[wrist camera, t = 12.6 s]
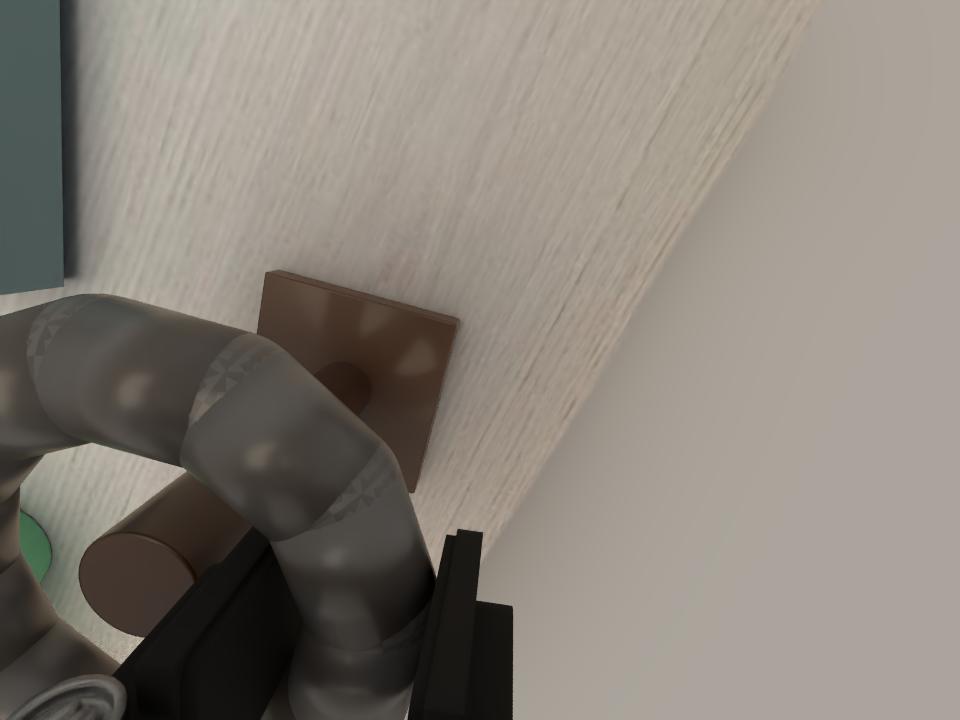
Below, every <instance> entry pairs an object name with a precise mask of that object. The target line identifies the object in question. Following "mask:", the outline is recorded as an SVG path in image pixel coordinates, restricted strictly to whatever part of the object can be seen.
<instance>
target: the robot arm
mask: <svg viewBox="0 0 960 720" xmlns="http://www.w3.org/2000/svg"><path fill="white" fill-rule="evenodd" d="M482 538H483V532H476V531H469V530H462V529H458V530H457V535H456V536H453V535H446V539H445V543H444V548H443V552H442V557H441V561H440V566H439V570H438V575H437V580H436V584H435V589H434V593H433V598H432V602H431V607H430V611H429V616H428V620H427V625H426V629H425V634H424V639H423V643H422V648H421V652H420V657H419V661H418V666H417V670H416V675H415V679H414V684H413V689H412V694H411V700H410V706H409V713H408V720H513V718H512V717H513V715H512V714H513V607H512V606H509V605H503V604H496V603H489V602H482V601H476V595H477V586H478V577H479V567H480V557H481V548H482ZM300 618H301V615H300V613H299V610H298V608H297V605H296V603H295V601H294V598H293V596H292V594H291V591H290V589H289V586H288V584H287V582H286V579H285V577H284V575H283V572H282V570H281V567H280V565H279V563H278V560H277V558H276V556H275V553H274V551H273V548H272V546H271V544H270V541H269V539H267V538H266V537H265V536H264V535H263V534H261V533H260V532H259V531H258V530H257V529H256V528H254V527H253V526H252V527H251V529H250V530H249V531H248V532H247V533H246V534H245V536H244V537H243V538H242V539H241V540H240V541H239V543H238V544H237V545H236V546H235V547H234V548H233V549H232V551H231V552H230V553H229V554H228V555H227V556H226V558H225V559H224V560H223V561H222V562H221V563H218V562H217V563H214V564H212V565H210V566H209V567H208V568H207V569H206V570H205V571H204V572H203V573H202V574H201V576H200V577H199V578H198V579H197V580H196V581H195V582H194V583H193V585H192V586H191V587H190V588H189V589H188V590H187V591H186V592H185V594H184V595H183V596H182V597H181V598H180V599H179V600H178V601H177V603H176V604H175V605H174V606H173V607H172V608H171V609H170V610H169V612H168V613H167V614H166V615H165V616H164V617H163V618H162V619H161V621H160V622H159V623H158V624H157V625H156V626H155V627H154V628H153V630H152V631H151V632H150V633H149V634H148V635H147V636H146V637H145V639H144V640H143V641H142V642H141V643H140V644H139V645H138V646H137V648H136V649H135V650H134V651H133V652H132V653H131V654H130V655H129V657H128V658H127V659H126V660H125V661H124V662H123V663H122V664H121V666H120V667H119V668H118V669H117V670H116V671H115V672H114V673H113V675H112V676H107V675H103V674H93V675H82V676H78V677H74V678H71V679H67V680H64V681H62V682H59V683H57V684H55V685H53V686H50V687H48V688H46V689H44V690H42V691H41V692H39V693H38V694H36V695H35V696H33V697H32V698H30V699H29V700H27V701H25V702H24V703H23V704H22V705H21V706H20V707H19V708H18V709H17V710H16V711H14V712H13V713H12V714H11V715H10V716H9V717H8V718H7V719H6V720H261V718H262V716H263V714H264V712H265V710H266V708H267V706H268V704H269V702H270V700H271V698H272V696H273V694H274V693H275V691H276V689H277V687H278V685H279V682H280V680H281V677H282V675H283V673H284V671H285V668H286V666H287V665H288V663H289V661H290V659H291V658H292V657H293V652H294V647H295V642H296V637H297V632H298V628H299V623H300Z"/></svg>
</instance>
